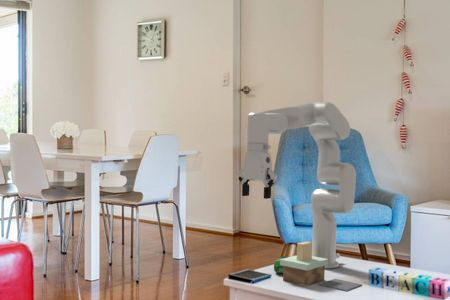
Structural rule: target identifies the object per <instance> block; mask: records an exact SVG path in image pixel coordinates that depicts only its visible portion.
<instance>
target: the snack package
mask: <svg viewBox="0 0 450 300" xmlns="http://www.w3.org/2000/svg"><path fill="white" fill-rule="evenodd" d="M288 257H290V256H287V255H286V256H284V255H283V256H279V257H277V258H276V260H275V261H274V262H273V271H274V272H275V273H276V274H283V265H280V259H284V258H288Z"/></svg>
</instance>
